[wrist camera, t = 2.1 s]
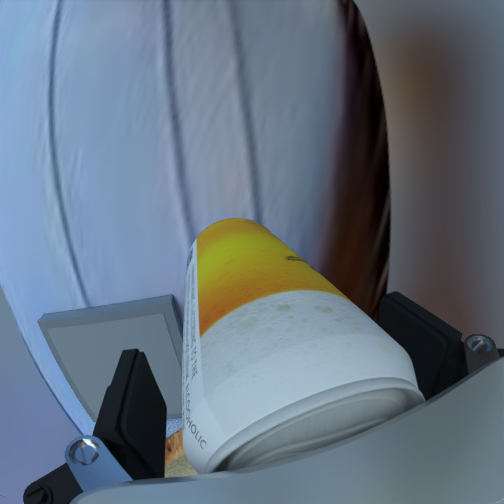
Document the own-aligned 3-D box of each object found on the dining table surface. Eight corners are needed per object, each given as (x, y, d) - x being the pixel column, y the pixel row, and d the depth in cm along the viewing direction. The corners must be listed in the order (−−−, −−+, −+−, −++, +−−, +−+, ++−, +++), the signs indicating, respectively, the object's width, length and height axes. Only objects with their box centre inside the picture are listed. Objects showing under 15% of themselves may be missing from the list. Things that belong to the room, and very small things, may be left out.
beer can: (272, 303, 20) (381, 486, 6) (186, 302, 19) (192, 523, 5) (283, 219, 19) (475, 342, 4) (189, 213, 17) (170, 387, 3)
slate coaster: (43, 314, 17) (37, 321, 16) (172, 294, 19) (170, 302, 17) (96, 413, 20) (93, 422, 19) (206, 404, 22) (207, 414, 21)
